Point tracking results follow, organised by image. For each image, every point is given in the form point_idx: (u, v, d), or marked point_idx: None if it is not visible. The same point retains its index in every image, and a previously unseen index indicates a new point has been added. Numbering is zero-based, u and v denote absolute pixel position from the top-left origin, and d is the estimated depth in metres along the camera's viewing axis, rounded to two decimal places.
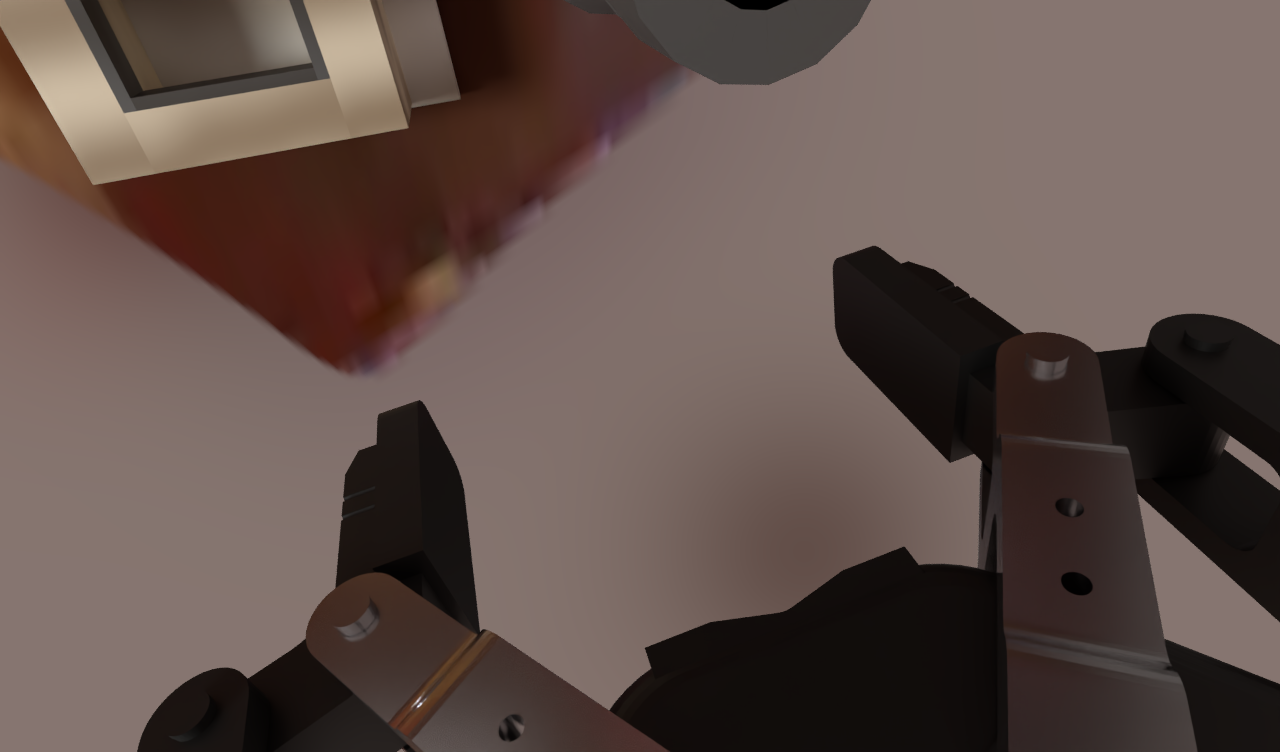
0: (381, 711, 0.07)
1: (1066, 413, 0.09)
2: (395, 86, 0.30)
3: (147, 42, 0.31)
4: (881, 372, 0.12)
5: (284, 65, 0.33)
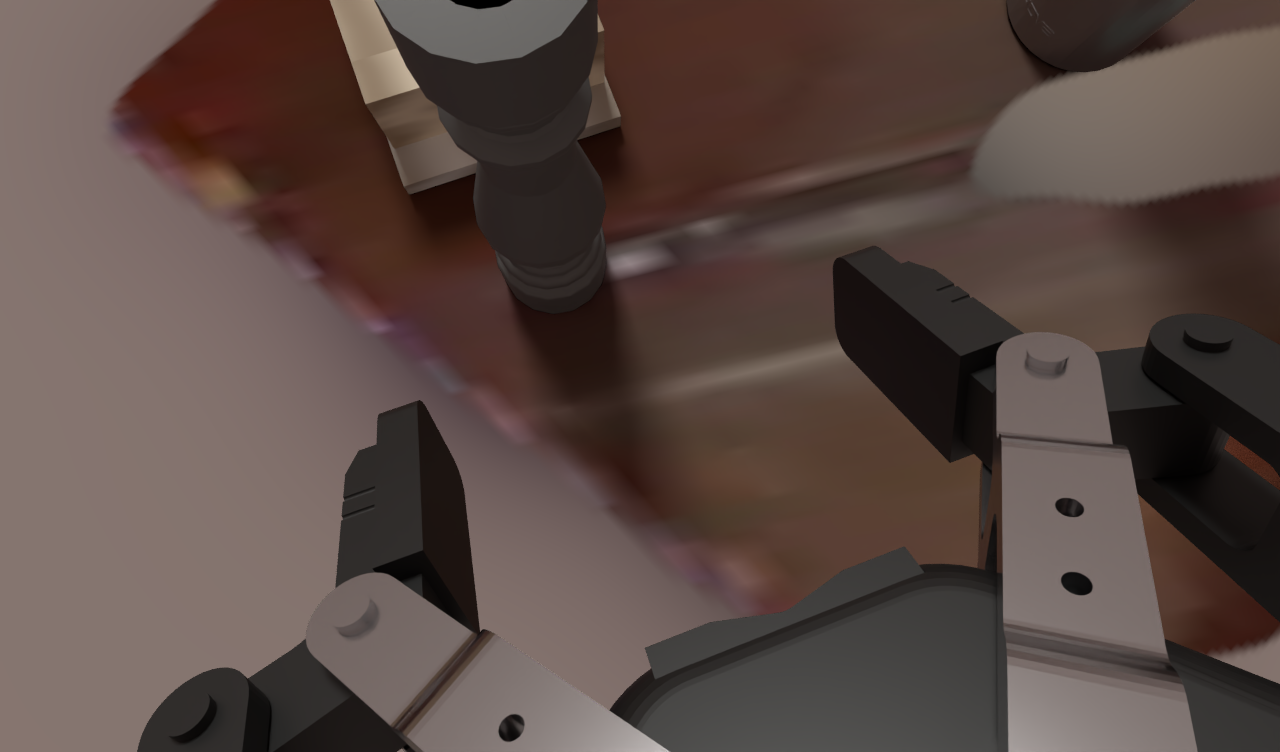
0: (381, 711, 0.07)
1: (1065, 412, 0.09)
2: (398, 94, 0.36)
3: None
4: (881, 372, 0.12)
5: None
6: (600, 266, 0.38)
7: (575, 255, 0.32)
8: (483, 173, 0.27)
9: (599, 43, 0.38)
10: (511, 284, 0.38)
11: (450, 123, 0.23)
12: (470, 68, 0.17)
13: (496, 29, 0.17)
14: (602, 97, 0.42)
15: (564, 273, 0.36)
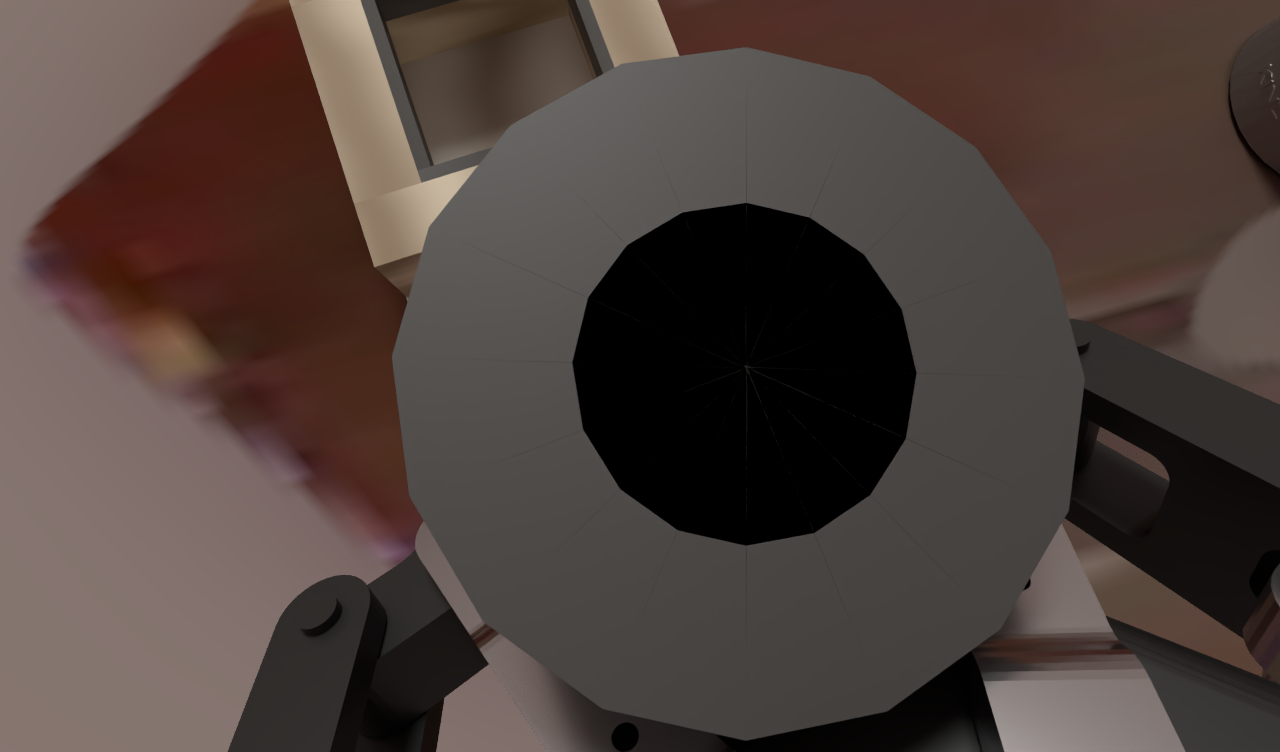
0: (466, 620, 0.08)
1: None
2: None
3: (438, 58, 0.31)
4: None
5: None
6: None
7: None
8: None
9: None
10: None
11: None
12: (716, 722, 0.05)
13: (802, 614, 0.05)
14: None
15: None
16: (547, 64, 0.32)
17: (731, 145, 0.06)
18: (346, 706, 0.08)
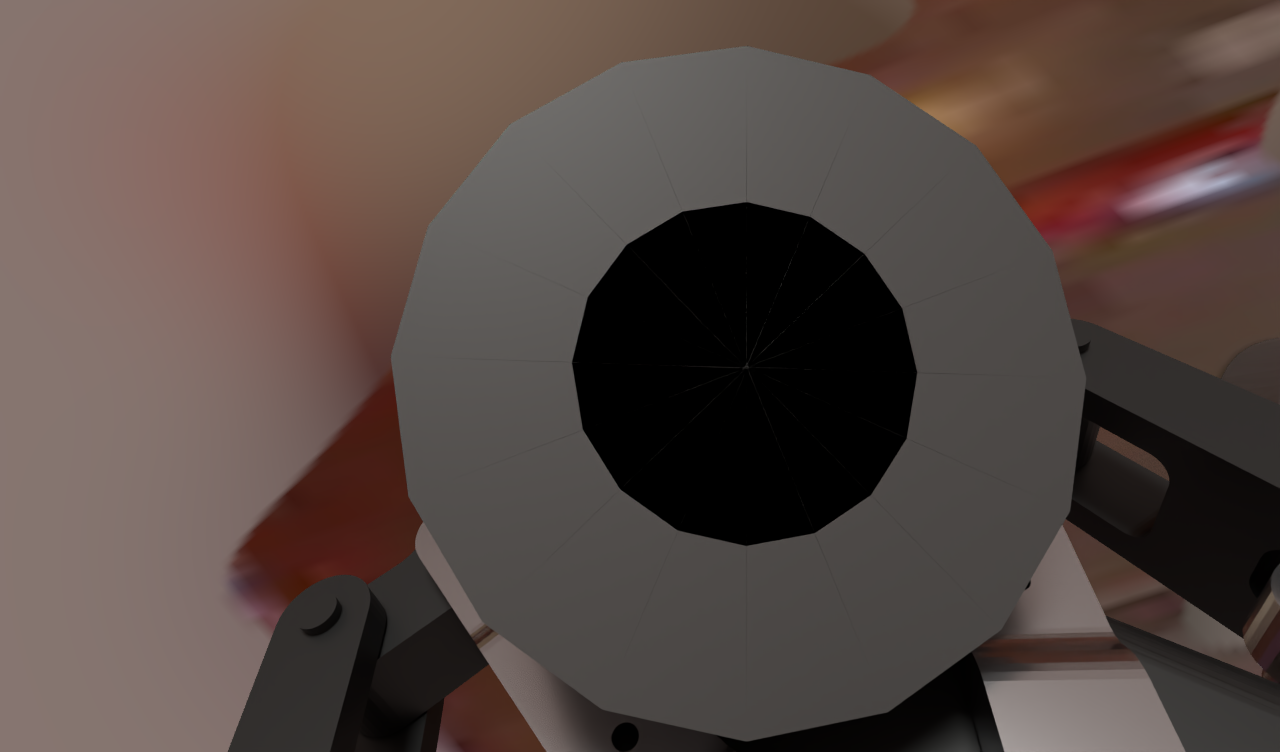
0: (465, 620, 0.08)
1: None
2: None
3: None
4: None
5: None
6: None
7: None
8: None
9: None
10: None
11: None
12: (716, 723, 0.05)
13: (803, 615, 0.05)
14: None
15: None
16: None
17: (731, 144, 0.06)
18: (346, 706, 0.08)
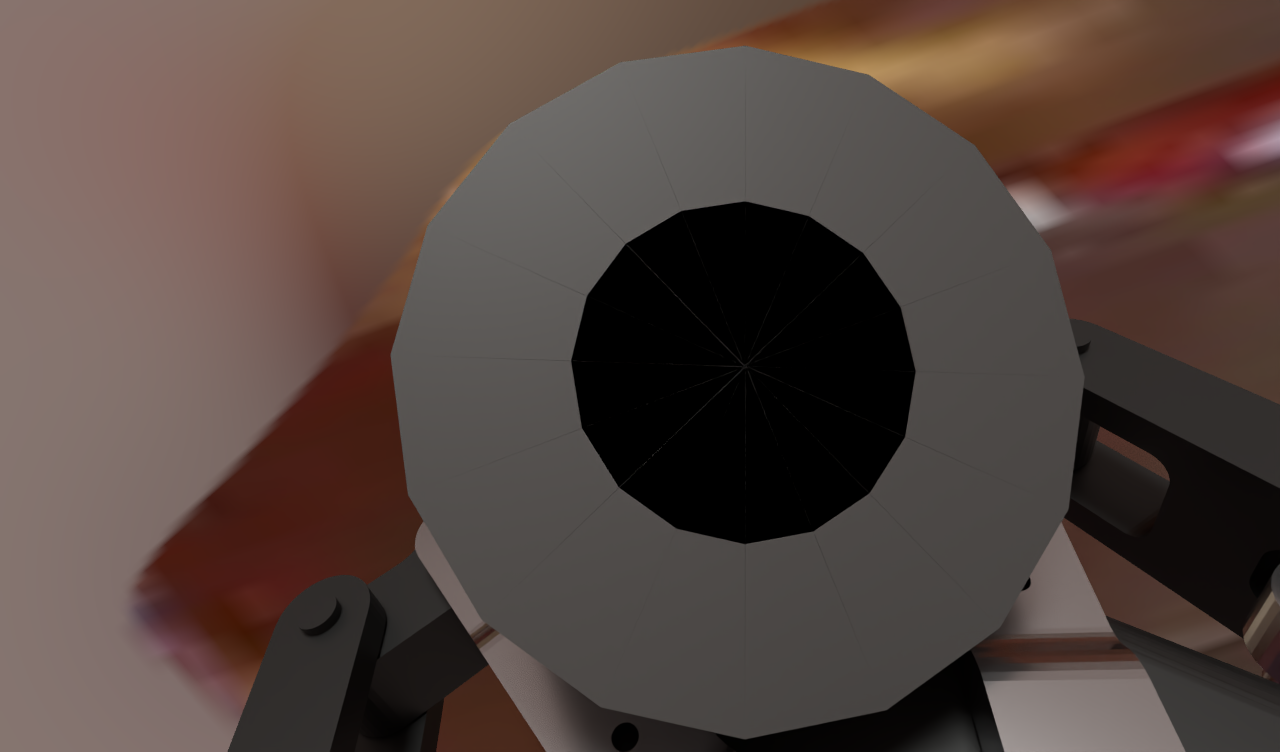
0: (465, 621, 0.08)
1: None
2: None
3: None
4: None
5: None
6: None
7: None
8: None
9: None
10: None
11: None
12: (714, 721, 0.05)
13: (801, 614, 0.05)
14: None
15: None
16: None
17: (730, 144, 0.06)
18: (346, 706, 0.08)
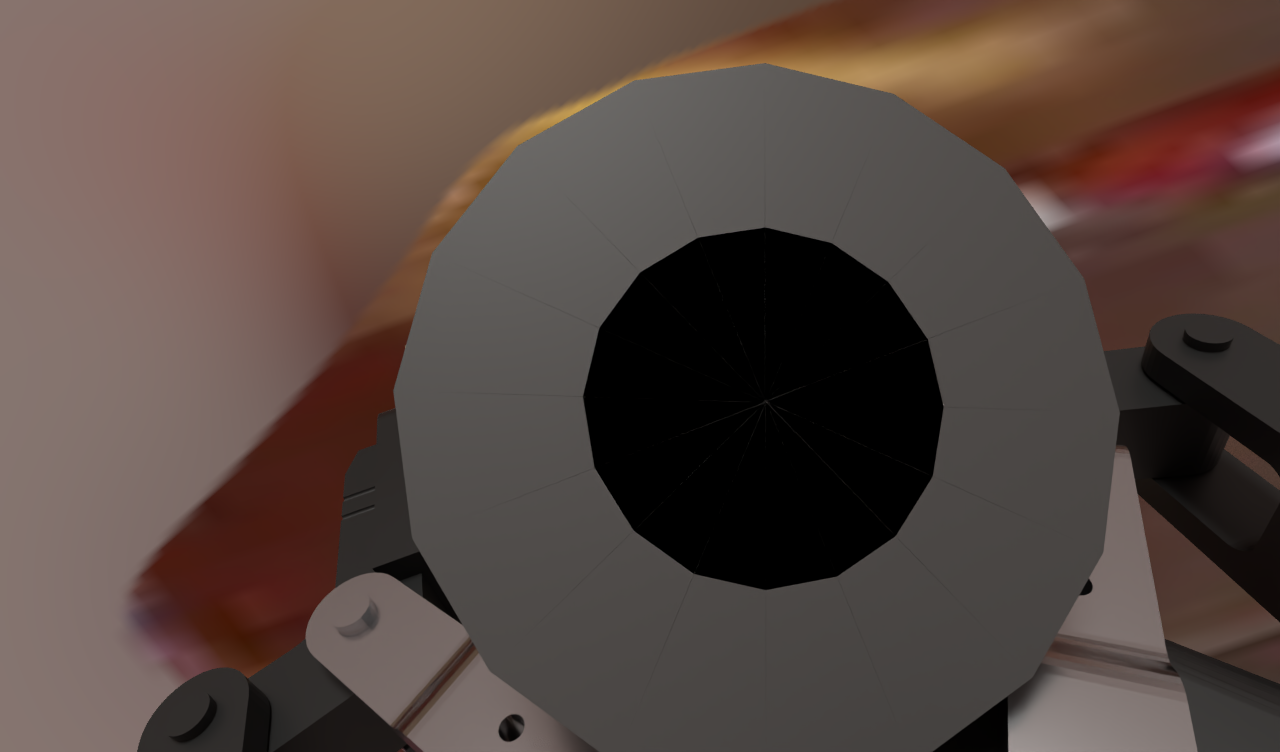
0: (381, 711, 0.07)
1: None
2: None
3: None
4: None
5: None
6: None
7: None
8: None
9: None
10: None
11: None
12: None
13: (824, 663, 0.05)
14: None
15: None
16: None
17: (749, 166, 0.06)
18: None
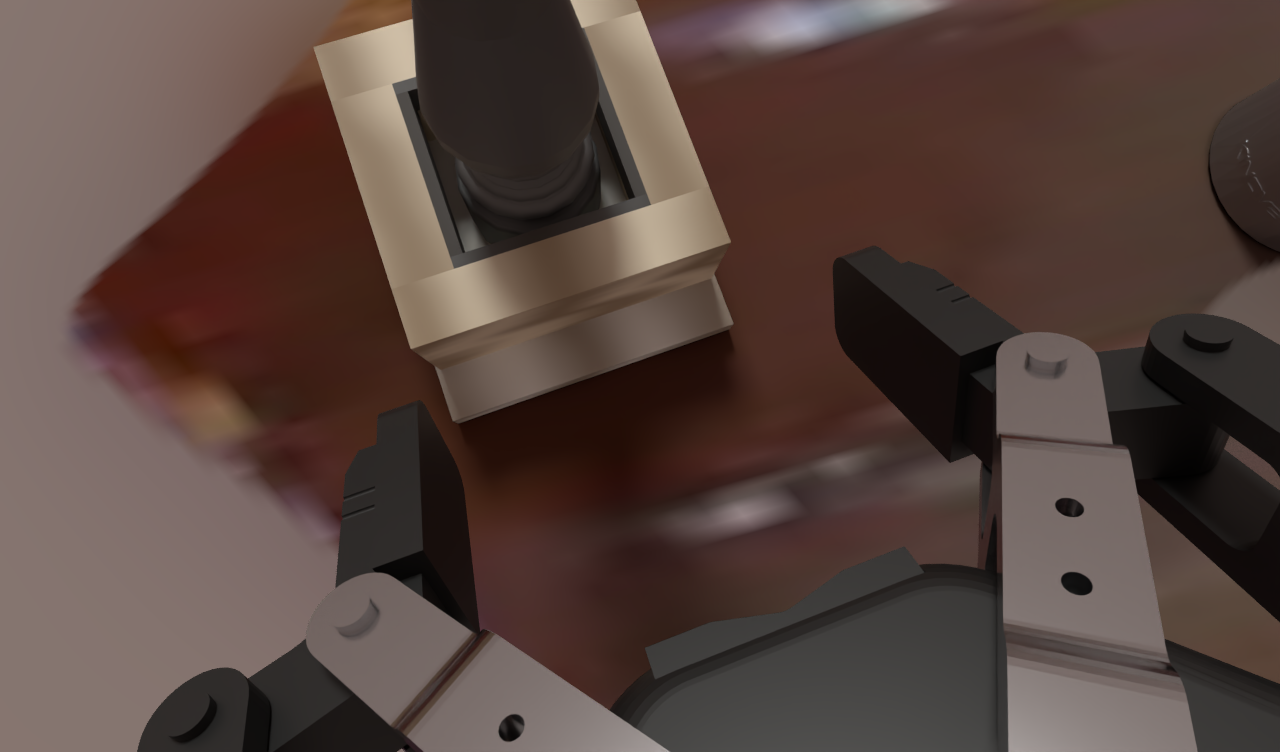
0: (381, 710, 0.07)
1: (1065, 413, 0.09)
2: (455, 334, 0.27)
3: None
4: (881, 372, 0.12)
5: None
6: (592, 194, 0.30)
7: (556, 158, 0.23)
8: (417, 7, 0.18)
9: (720, 252, 0.29)
10: (476, 215, 0.29)
11: None
12: None
13: None
14: (709, 298, 0.33)
15: (545, 197, 0.27)
16: None
17: None
18: None
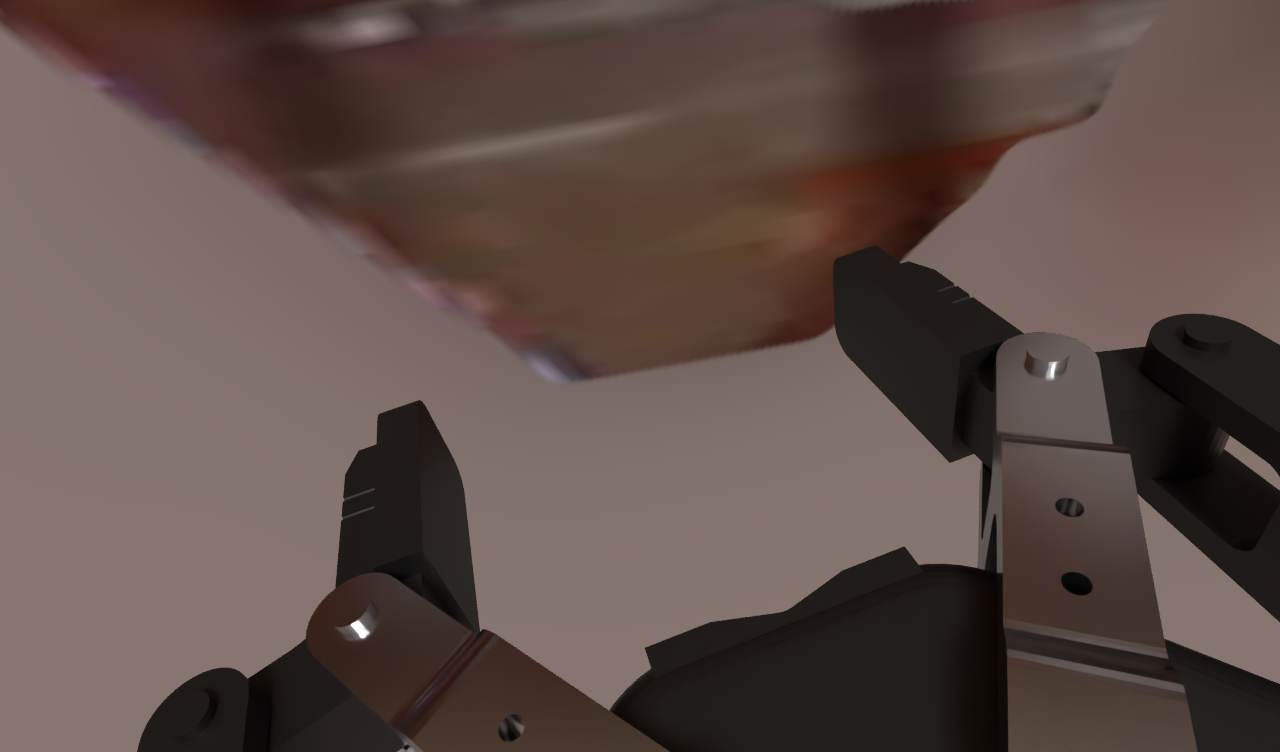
0: (381, 710, 0.07)
1: (1065, 413, 0.09)
2: None
3: None
4: (881, 372, 0.12)
5: None
6: None
7: None
8: None
9: None
10: None
11: None
12: None
13: None
14: None
15: None
16: None
17: None
18: None
